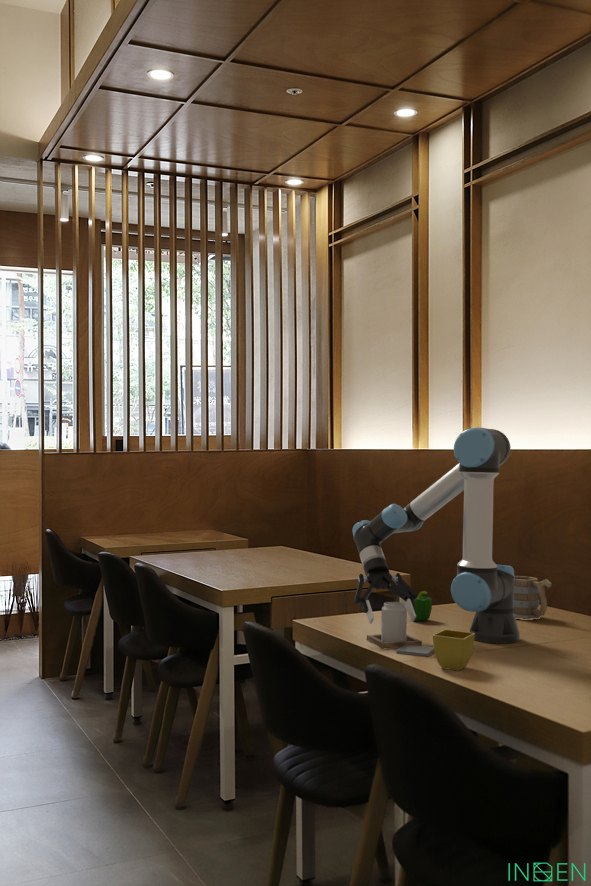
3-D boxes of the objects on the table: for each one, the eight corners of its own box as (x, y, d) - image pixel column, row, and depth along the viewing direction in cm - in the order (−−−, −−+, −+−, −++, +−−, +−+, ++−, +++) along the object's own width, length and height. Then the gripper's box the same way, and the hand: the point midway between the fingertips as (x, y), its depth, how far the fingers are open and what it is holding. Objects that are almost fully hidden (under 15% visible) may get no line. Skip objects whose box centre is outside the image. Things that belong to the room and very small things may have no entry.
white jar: (405, 646, 242) (405, 605, 243) (379, 645, 244) (380, 604, 244) (407, 641, 250) (407, 601, 250) (382, 640, 251) (382, 600, 252)
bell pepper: (401, 619, 285) (402, 590, 285) (417, 617, 290) (417, 588, 291) (421, 623, 279) (421, 593, 279) (436, 620, 284) (436, 591, 285)
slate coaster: (435, 650, 238) (435, 647, 238) (427, 656, 230) (427, 653, 230) (405, 647, 242) (405, 644, 242) (396, 653, 234) (396, 650, 234)
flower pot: (463, 674, 211) (463, 638, 212) (431, 669, 216) (431, 634, 216) (475, 667, 219) (475, 633, 219) (444, 662, 223) (444, 629, 224)
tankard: (496, 615, 297) (496, 573, 297) (524, 613, 302) (524, 572, 302) (534, 625, 279) (534, 580, 279) (563, 623, 284) (563, 579, 284)
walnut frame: (403, 637, 255) (403, 633, 255) (421, 646, 243) (421, 641, 243) (366, 639, 251) (366, 634, 251) (382, 648, 239) (382, 643, 239)
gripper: (406, 570, 268) (426, 625, 253) (334, 571, 260) (350, 628, 245) (414, 555, 263) (434, 611, 248) (340, 556, 255) (357, 614, 241)
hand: (393, 620), depth 247 cm, fingers open, 13 cm apart
